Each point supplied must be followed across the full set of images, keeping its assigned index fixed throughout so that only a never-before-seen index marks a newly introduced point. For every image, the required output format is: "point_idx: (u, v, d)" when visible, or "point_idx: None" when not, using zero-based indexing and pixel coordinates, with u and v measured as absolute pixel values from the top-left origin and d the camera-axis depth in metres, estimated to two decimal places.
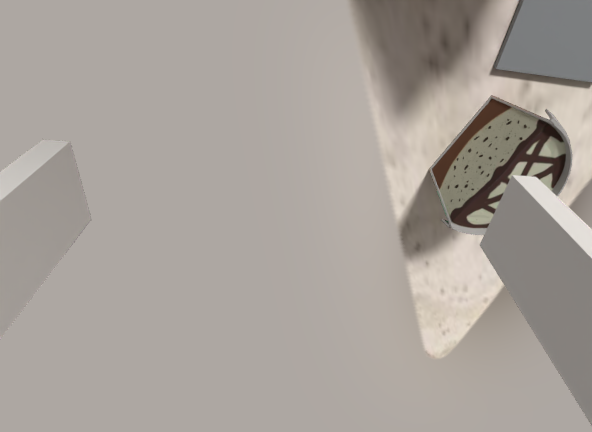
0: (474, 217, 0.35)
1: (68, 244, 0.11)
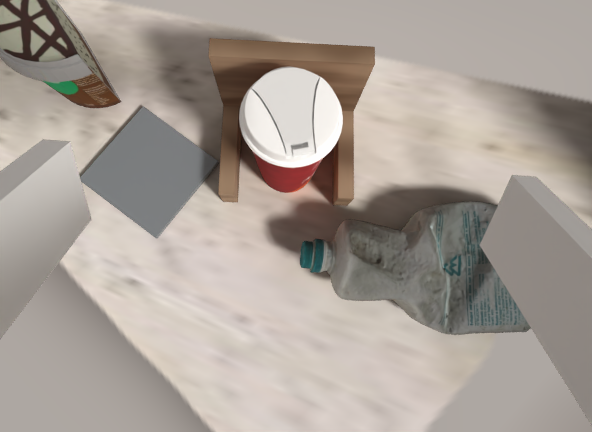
0: None
1: (68, 244, 0.11)
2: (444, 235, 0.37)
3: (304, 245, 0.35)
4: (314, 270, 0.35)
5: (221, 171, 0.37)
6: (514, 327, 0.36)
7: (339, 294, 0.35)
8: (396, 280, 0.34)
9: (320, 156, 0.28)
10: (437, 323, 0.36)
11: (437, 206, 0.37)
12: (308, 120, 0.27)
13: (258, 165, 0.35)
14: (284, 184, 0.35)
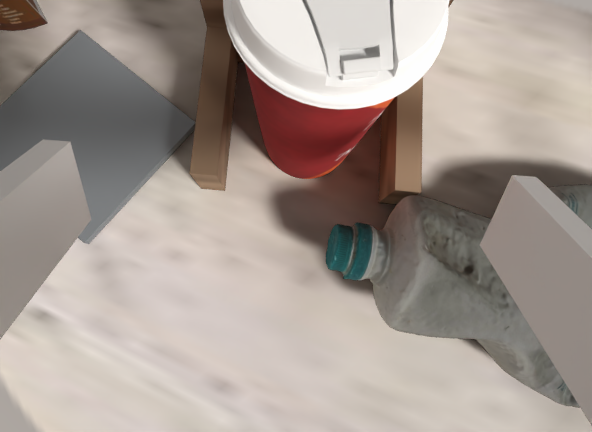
0: None
1: (68, 244, 0.11)
2: None
3: (337, 231, 0.20)
4: (351, 276, 0.20)
5: (197, 135, 0.21)
6: None
7: (391, 322, 0.20)
8: (497, 308, 0.19)
9: (400, 87, 0.12)
10: (555, 387, 0.21)
11: (564, 187, 0.22)
12: None
13: (261, 123, 0.19)
14: (305, 160, 0.20)
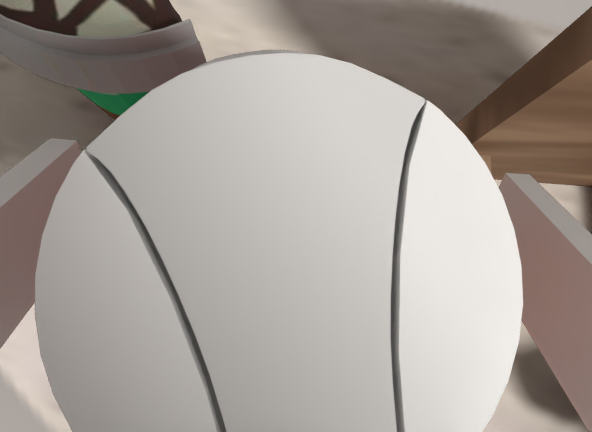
0: None
1: None
2: None
3: None
4: None
5: None
6: None
7: None
8: None
9: None
10: None
11: None
12: (371, 329, 0.05)
13: None
14: None
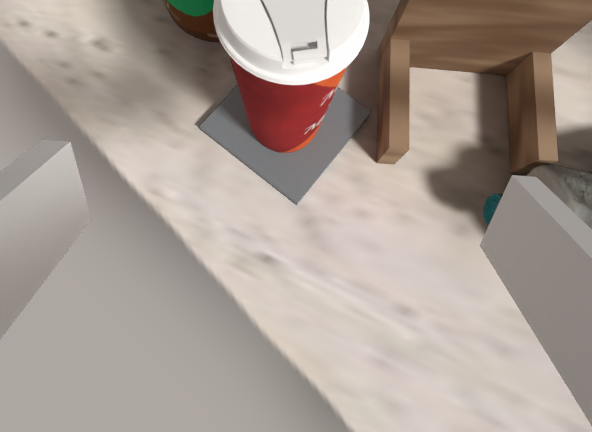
0: None
1: (68, 244, 0.11)
2: None
3: (500, 198, 0.27)
4: None
5: (392, 120, 0.29)
6: None
7: None
8: None
9: (335, 69, 0.18)
10: None
11: None
12: (318, 9, 0.17)
13: (244, 104, 0.25)
14: (280, 133, 0.26)
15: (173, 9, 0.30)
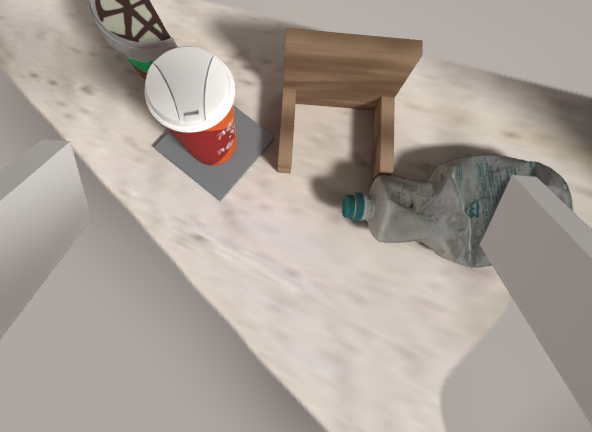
0: None
1: (68, 244, 0.11)
2: (463, 183, 0.43)
3: (347, 197, 0.41)
4: (356, 218, 0.41)
5: (280, 144, 0.43)
6: None
7: (379, 237, 0.41)
8: (427, 222, 0.41)
9: (212, 123, 0.32)
10: (463, 257, 0.42)
11: (455, 160, 0.44)
12: (200, 91, 0.32)
13: None
14: (200, 154, 0.40)
15: (136, 67, 0.44)
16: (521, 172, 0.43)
